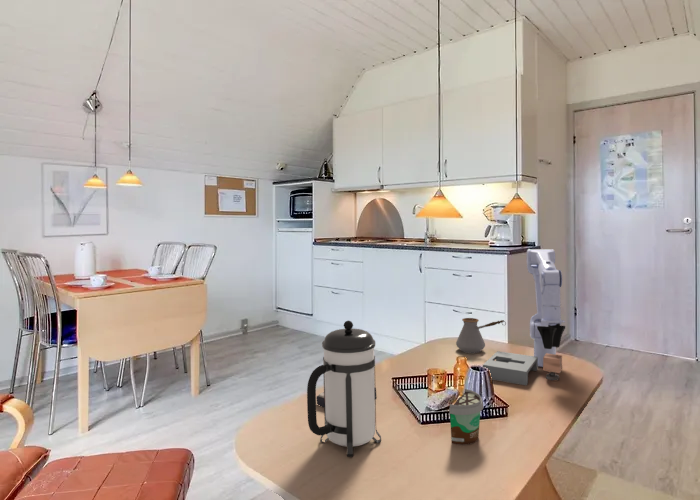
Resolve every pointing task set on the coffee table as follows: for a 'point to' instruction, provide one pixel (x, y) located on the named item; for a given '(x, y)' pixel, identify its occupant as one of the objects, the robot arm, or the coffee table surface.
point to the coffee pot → (472, 336)
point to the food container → (465, 418)
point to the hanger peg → (552, 365)
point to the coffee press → (346, 389)
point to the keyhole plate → (511, 367)
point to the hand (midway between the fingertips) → (551, 347)
